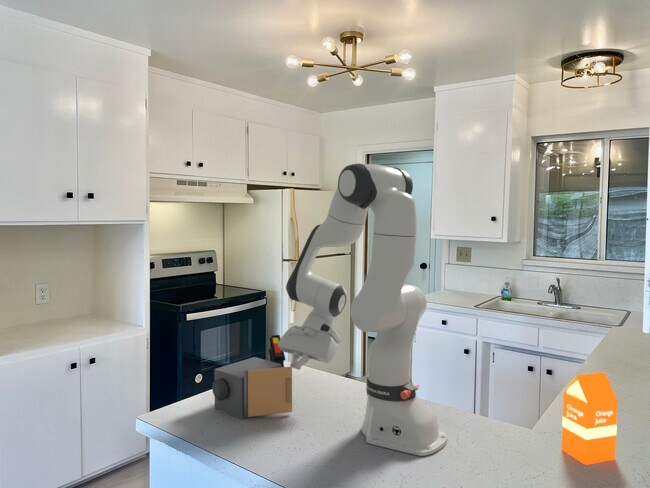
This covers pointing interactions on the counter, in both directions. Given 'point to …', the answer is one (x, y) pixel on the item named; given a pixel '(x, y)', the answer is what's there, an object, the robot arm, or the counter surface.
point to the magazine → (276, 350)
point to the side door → (267, 391)
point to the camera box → (235, 384)
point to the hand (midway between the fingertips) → (294, 367)
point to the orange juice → (589, 419)
